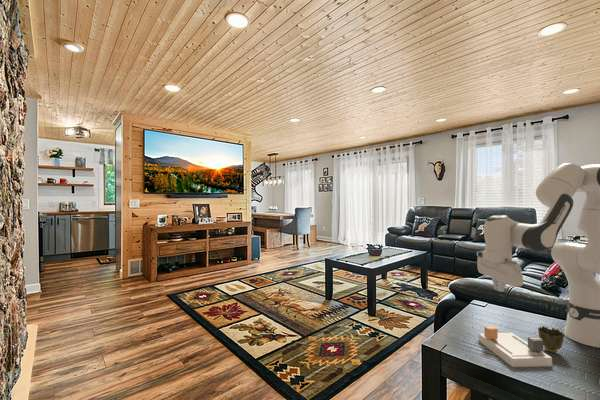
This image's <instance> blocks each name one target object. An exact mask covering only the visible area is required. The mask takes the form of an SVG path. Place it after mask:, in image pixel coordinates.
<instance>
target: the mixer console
mask: <svg viewBox="0 0 600 400" xmlns="http://www.w3.org/2000/svg"><path fill="white" fill-rule="evenodd" d="M478 342H479V343H481V344H482V345H484V346H485V348H487V349H489V350H490V351H492V353H493V354H495V355H497V356H498V357H499V358H500V359H502V360H503V361H504V362H505V363H506V364H508V365H510V367H511V368H529V367H533V368H534V367H535V368H536V367H552V366H553V357H552V356H550V355H548V354H547V353H545V352H544V351H538V352H533V351H532V350H530V349H529V348H528V341H526V340H525V339H523V338H521V336H518V335H516V334H515V333H513V332H498V339H487V338H486V337H485V336H484V332H483V333H480V332H479V333H478Z"/></svg>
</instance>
